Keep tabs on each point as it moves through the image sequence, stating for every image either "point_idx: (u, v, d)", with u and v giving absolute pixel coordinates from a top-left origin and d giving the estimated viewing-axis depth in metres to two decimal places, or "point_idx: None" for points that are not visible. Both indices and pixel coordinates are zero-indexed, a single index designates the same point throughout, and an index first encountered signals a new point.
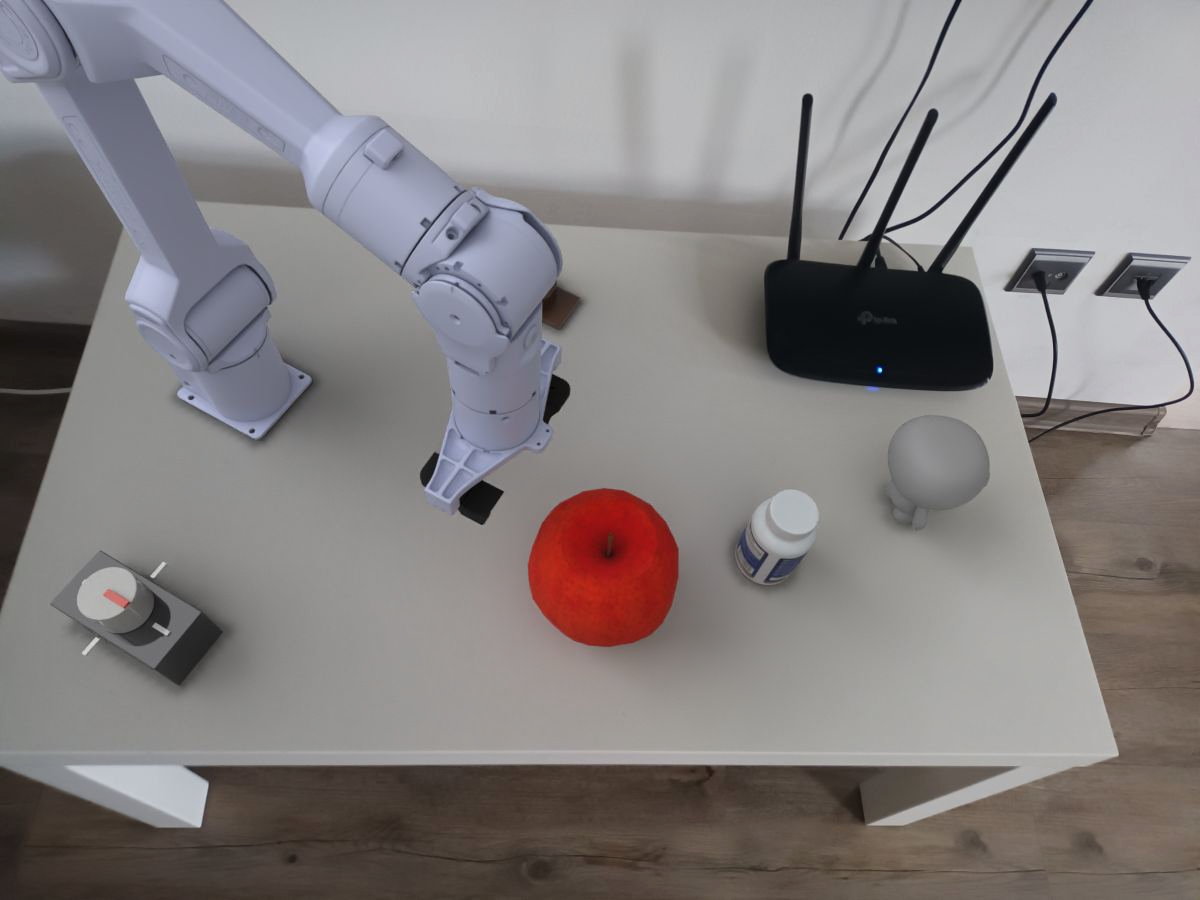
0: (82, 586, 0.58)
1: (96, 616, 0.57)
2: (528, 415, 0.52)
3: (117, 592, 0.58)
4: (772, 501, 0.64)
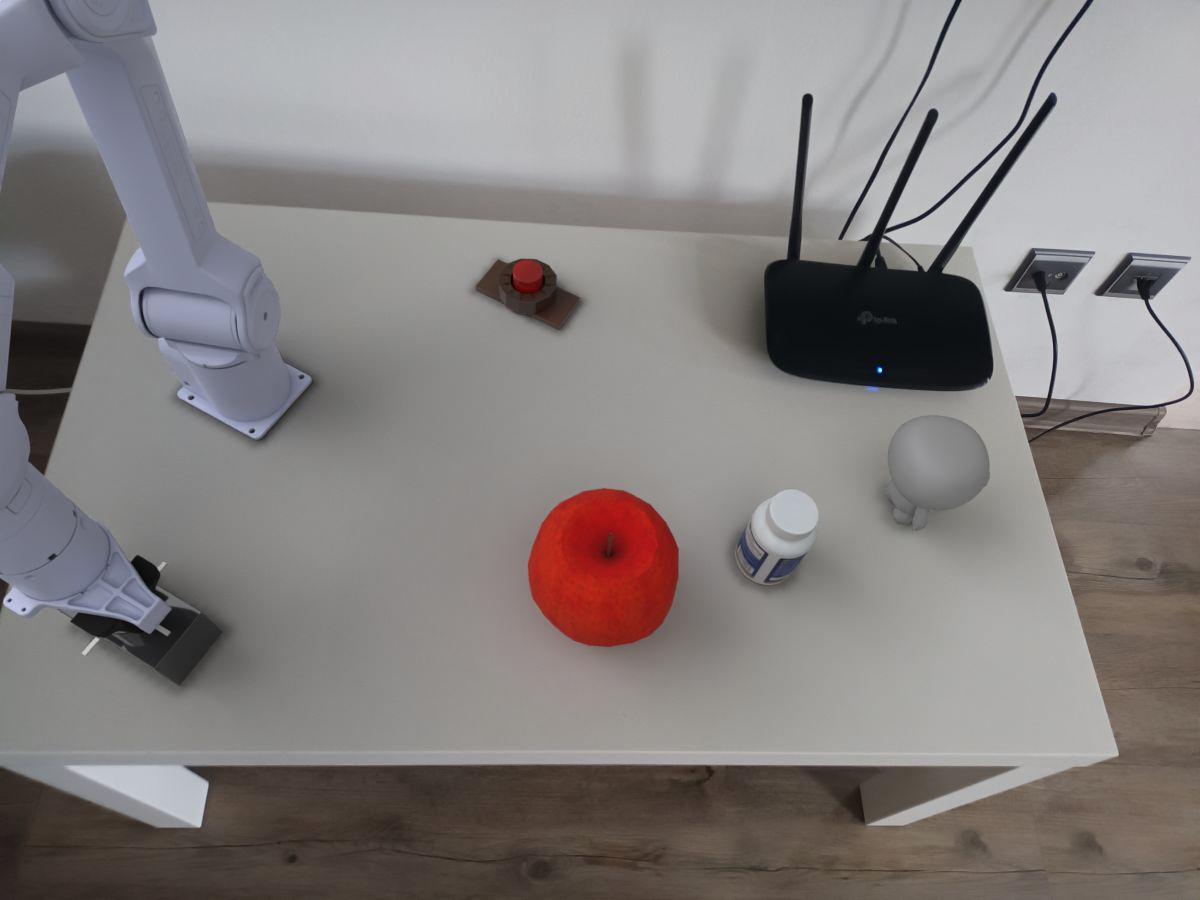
0: None
1: None
2: None
3: None
4: (772, 501, 0.64)
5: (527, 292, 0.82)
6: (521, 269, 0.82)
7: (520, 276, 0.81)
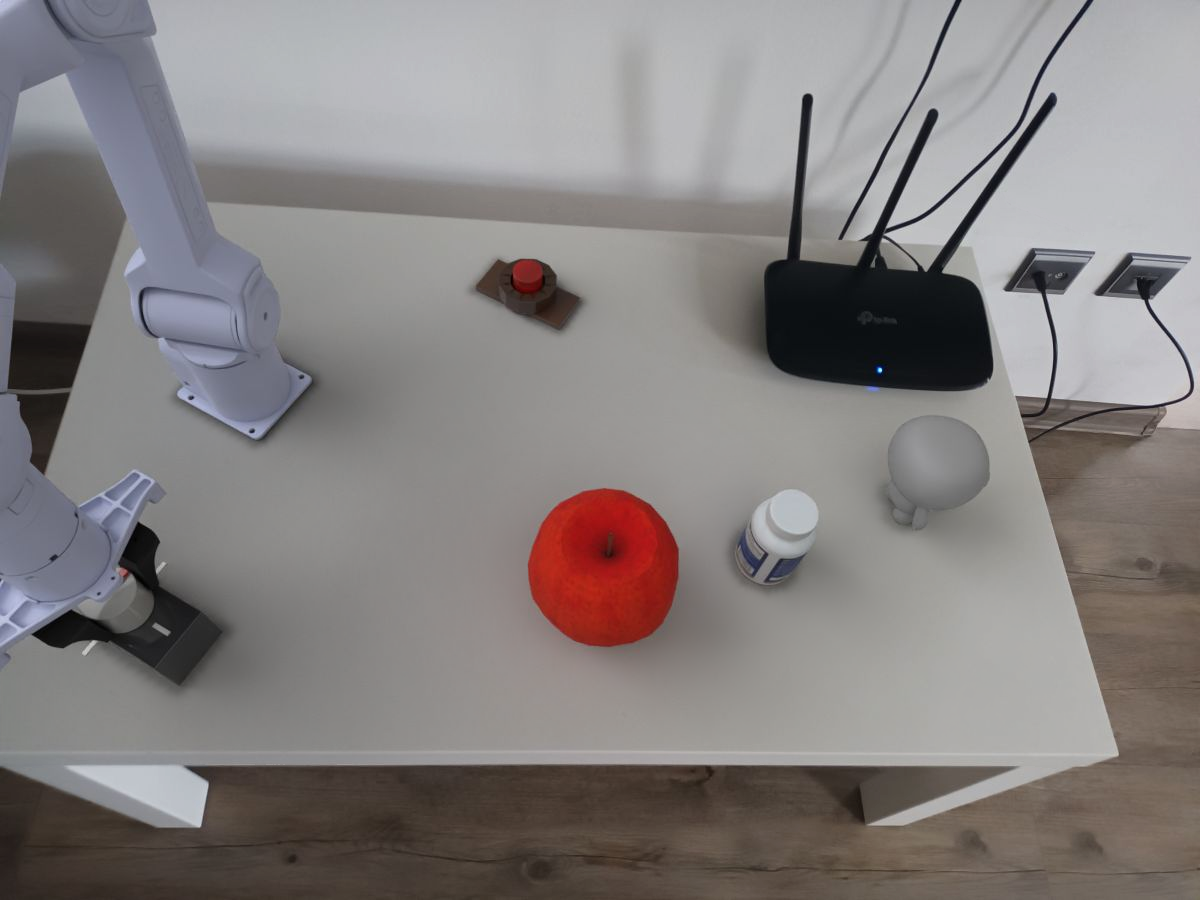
0: (92, 617, 0.57)
1: (131, 596, 0.58)
2: (67, 570, 0.49)
3: None
4: (772, 501, 0.64)
5: (527, 292, 0.82)
6: (521, 269, 0.82)
7: (520, 276, 0.81)
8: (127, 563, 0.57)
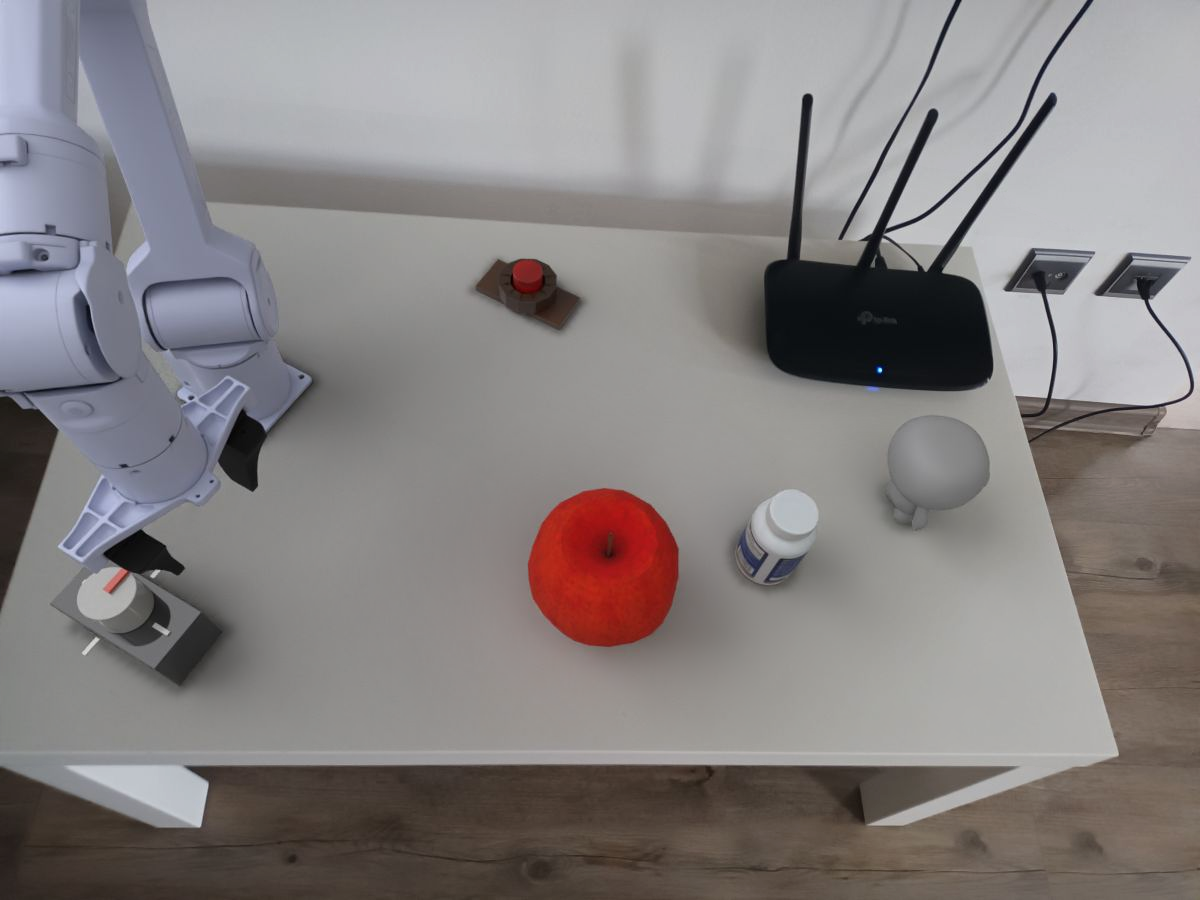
0: (92, 617, 0.57)
1: (131, 596, 0.58)
2: (170, 467, 0.48)
3: (109, 581, 0.58)
4: (772, 501, 0.64)
5: (527, 292, 0.82)
6: (521, 269, 0.82)
7: (520, 276, 0.81)
8: (233, 457, 0.56)
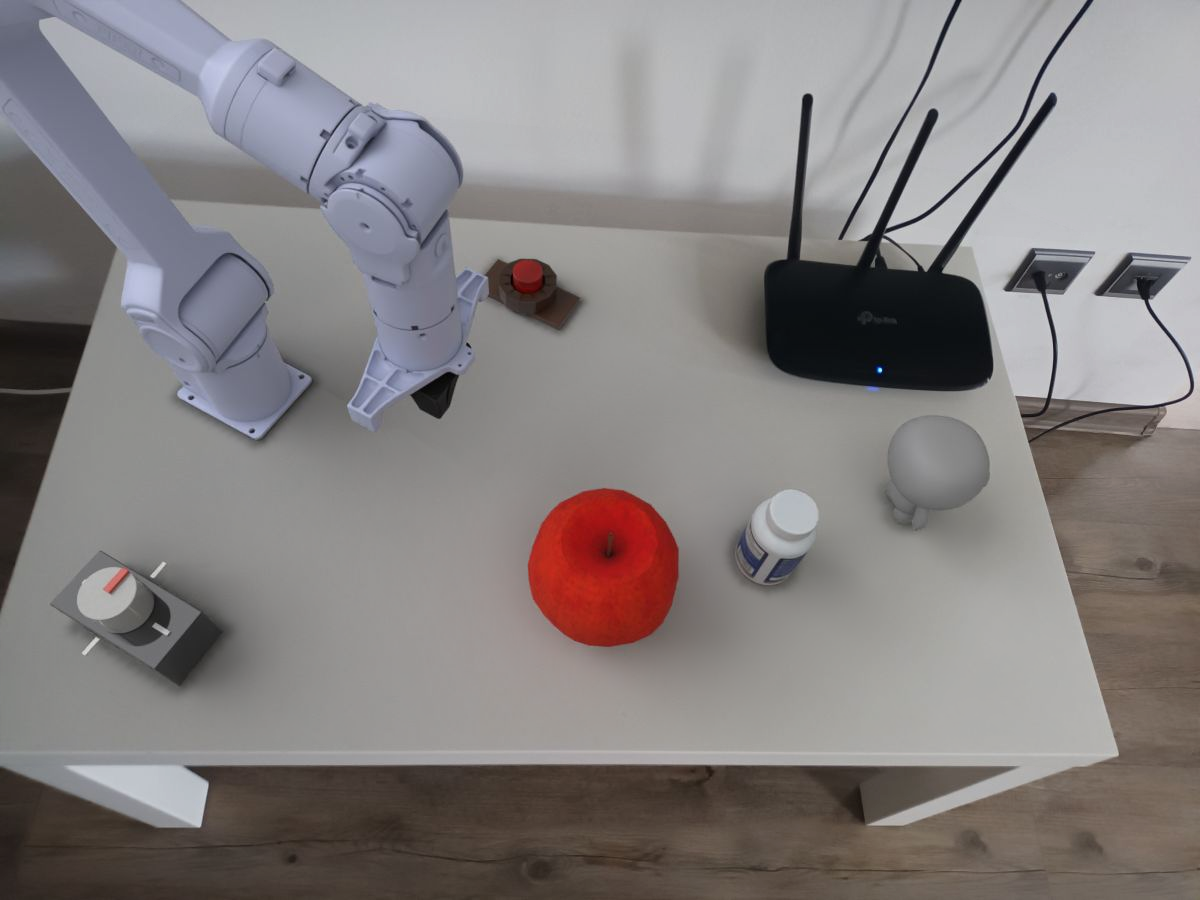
0: (92, 617, 0.57)
1: (131, 596, 0.58)
2: (446, 334, 0.54)
3: (109, 581, 0.58)
4: (772, 501, 0.64)
5: (527, 292, 0.82)
6: (521, 269, 0.82)
7: (520, 276, 0.81)
8: None
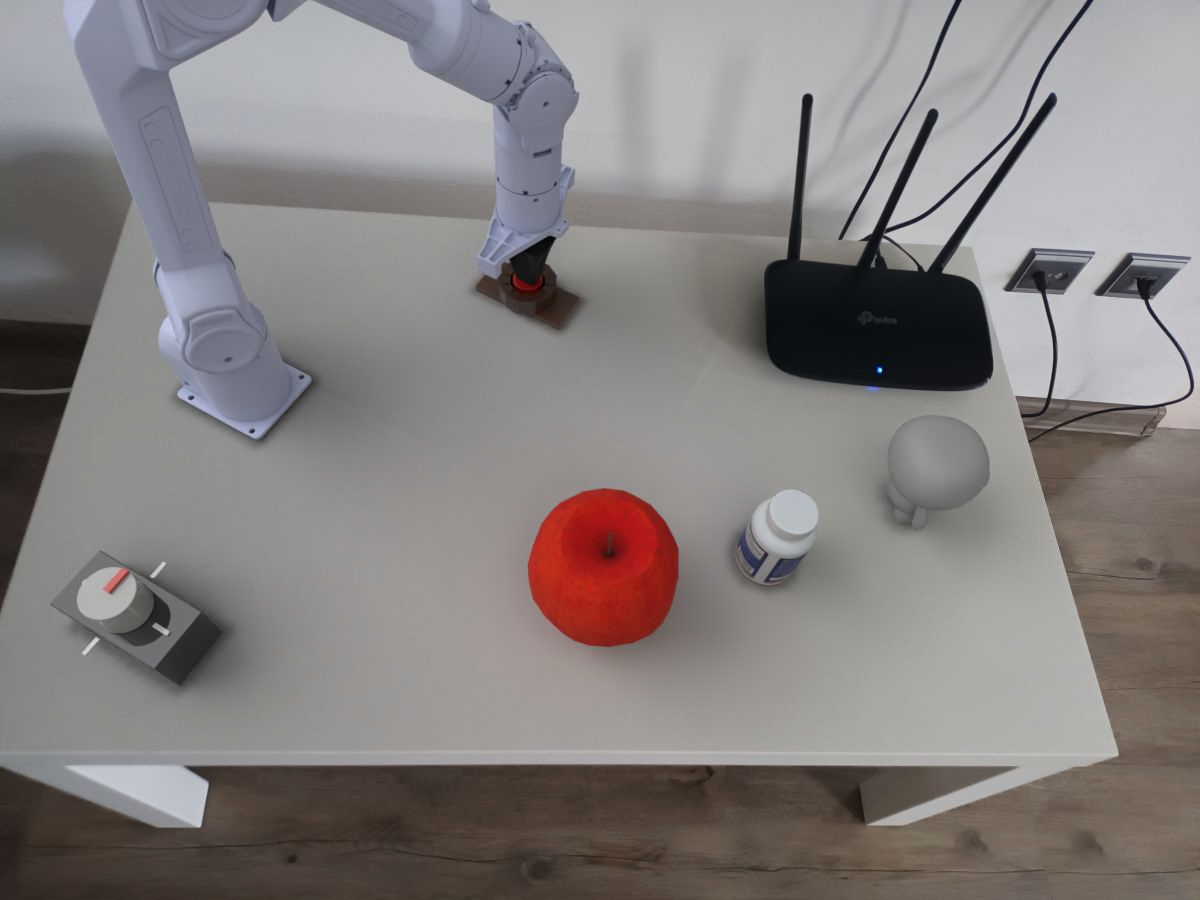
0: (92, 617, 0.57)
1: (131, 596, 0.58)
2: (552, 202, 0.72)
3: (109, 581, 0.58)
4: (772, 501, 0.64)
5: None
6: None
7: (520, 283, 0.82)
8: None
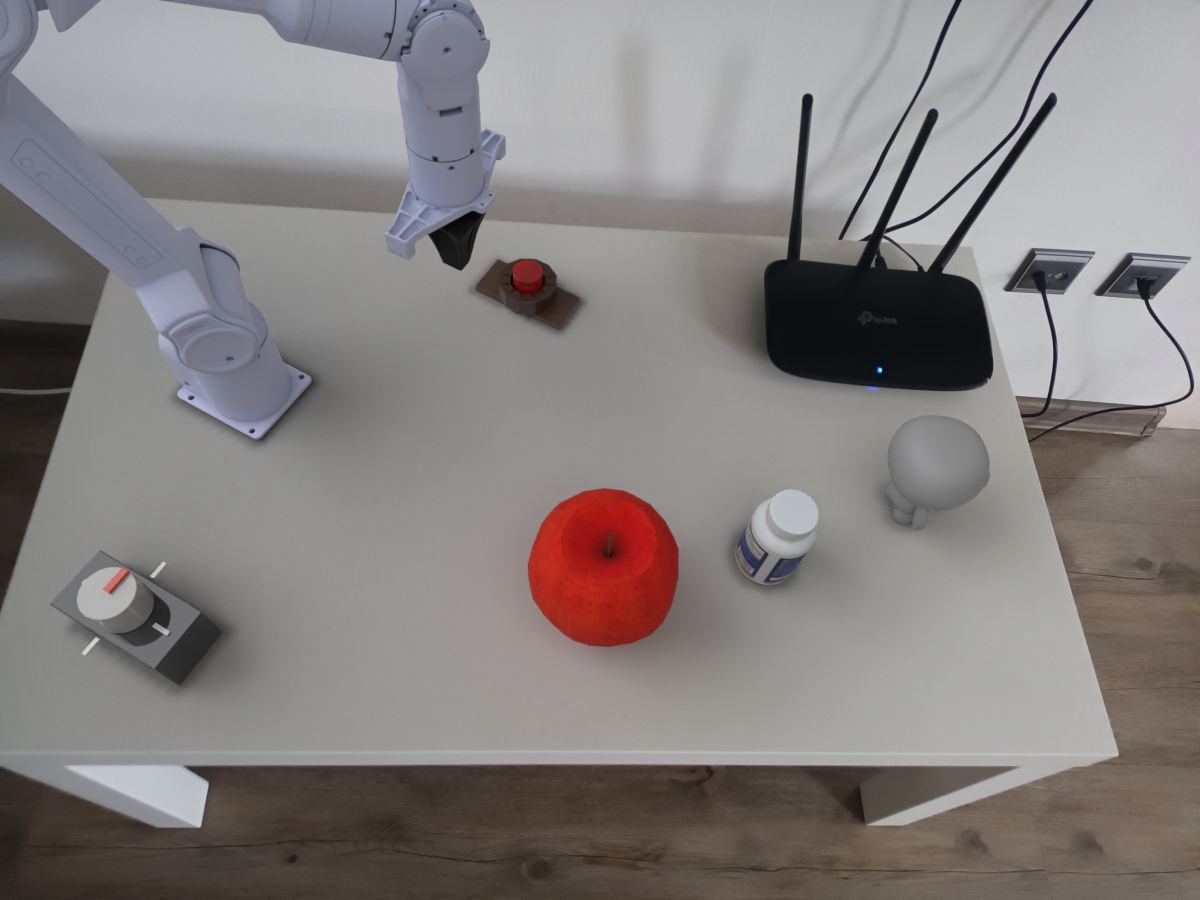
0: (92, 617, 0.57)
1: (131, 596, 0.58)
2: (471, 171, 0.62)
3: (109, 581, 0.58)
4: (772, 501, 0.64)
5: (527, 292, 0.82)
6: (521, 269, 0.82)
7: (520, 276, 0.81)
8: None
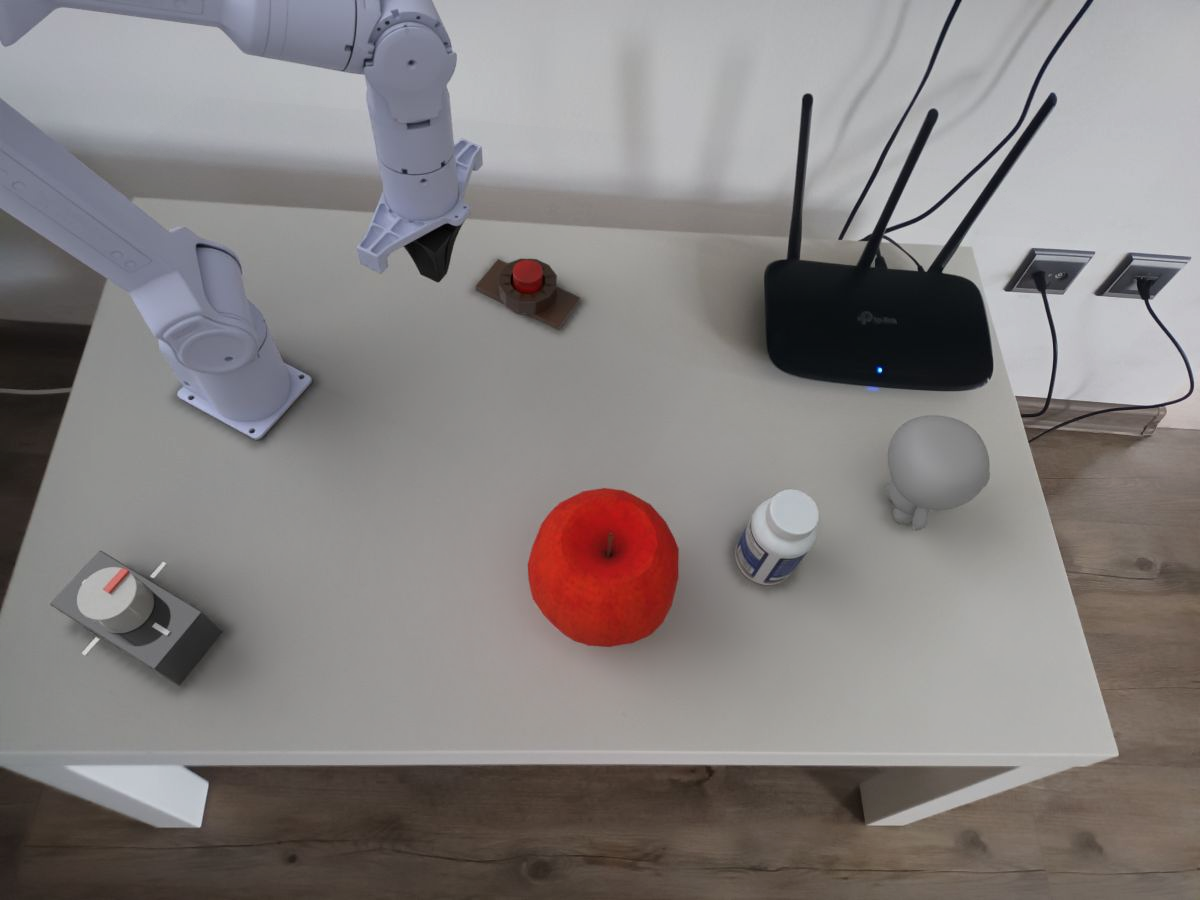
0: (92, 617, 0.57)
1: (131, 596, 0.58)
2: (444, 183, 0.61)
3: (109, 581, 0.58)
4: (772, 501, 0.64)
5: (527, 292, 0.82)
6: (521, 269, 0.82)
7: (520, 276, 0.81)
8: None
